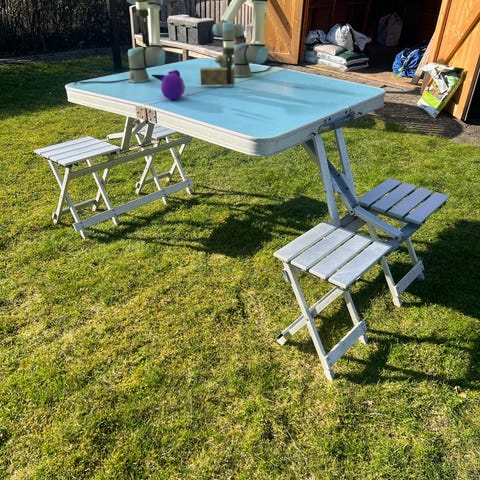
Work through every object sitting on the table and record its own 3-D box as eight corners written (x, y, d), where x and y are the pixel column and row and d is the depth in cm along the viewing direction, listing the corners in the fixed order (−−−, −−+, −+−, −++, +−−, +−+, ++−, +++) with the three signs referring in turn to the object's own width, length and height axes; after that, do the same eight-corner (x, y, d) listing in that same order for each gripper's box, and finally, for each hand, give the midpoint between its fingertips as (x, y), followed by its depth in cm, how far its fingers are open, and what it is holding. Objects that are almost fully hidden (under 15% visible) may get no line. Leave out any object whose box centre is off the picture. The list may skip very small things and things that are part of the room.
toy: (175, 91, 304) (184, 105, 283) (149, 87, 296) (157, 101, 276) (179, 67, 296) (189, 80, 275) (153, 62, 288) (161, 75, 268)
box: (201, 85, 313) (200, 70, 308) (202, 82, 320) (201, 67, 315) (234, 84, 312) (234, 69, 307) (234, 82, 319) (234, 67, 314)
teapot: (218, 70, 370) (218, 51, 363) (212, 68, 379) (211, 49, 371) (241, 68, 380) (240, 48, 372) (234, 66, 388) (233, 47, 381)
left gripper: (150, 10, 278) (154, 47, 289) (145, 8, 299) (149, 42, 309) (138, 10, 276) (142, 47, 287) (134, 8, 297) (138, 43, 308)
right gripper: (233, 49, 295) (234, 85, 306) (234, 45, 313) (235, 79, 324) (222, 49, 295) (223, 85, 306) (223, 45, 313) (224, 79, 325)
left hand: (146, 45), depth 298 cm, fingers open, 13 cm apart
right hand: (229, 82), depth 315 cm, fingers closed on box, 8 cm apart
